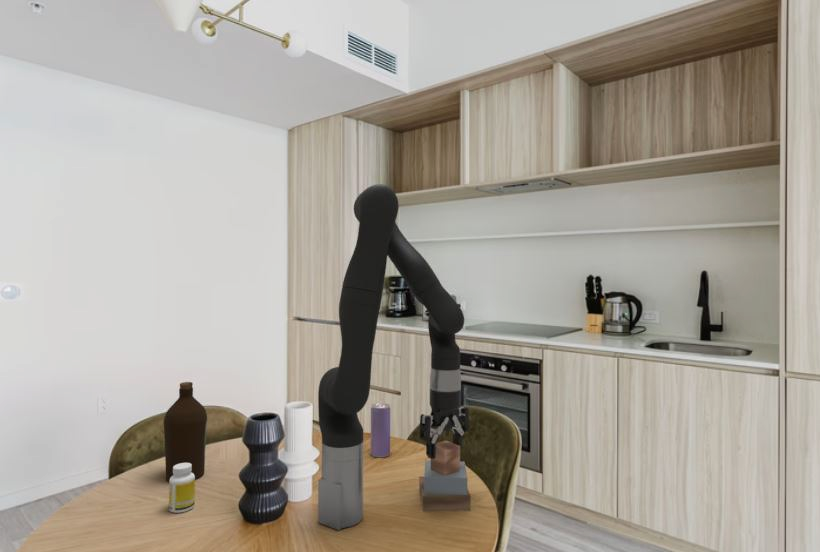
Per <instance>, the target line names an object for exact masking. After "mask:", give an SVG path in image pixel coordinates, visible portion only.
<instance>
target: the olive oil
mask: <svg viewBox="0 0 820 552" xmlns="http://www.w3.org/2000/svg"><path fill="white" fill-rule="evenodd" d="M193 385H194V384H193V382H191V381H183V382H180V383H179V388H178V389H179V390H178V393H179V395H178V399H176V401H174V403H173V404H172V405H170V406H169V408H168V409H167V410H166V412H165V414H164V418H163V435H164V437H163V439H164V457H165V462H164V463H165V479H166V481H167V482H169V480H170V478H171V476H173V475H174V474H173V466H175V465H177V464H180V463H191V464H192V471H191V472H192V473H193V474H194V475H195V481H196V480H198V479H200V478H202V476H204V475H205V464H206V463H205V461H206V446H207V445H206V444H207V431H208V430H207V429H208V427H207V426H208V413H207V410H206V409H205V406H204V405H203V404H201V403H200V402H199V401H198V400H197V399H196V398H195V397H194V387H193Z"/></svg>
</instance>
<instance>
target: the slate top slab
mask: <svg viewBox="0 0 820 552" xmlns="http://www.w3.org/2000/svg"><path fill="white" fill-rule="evenodd" d="M423 477H424V494H440V495H467V488H468V474H467V467H466V463H465V461H461V460H460V471H459V472H456V473H453V474H450V475H447V476H443V475H441V474H439V473H437V472H435V471H433V470H431V460H424V476H423Z"/></svg>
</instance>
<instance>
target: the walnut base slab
mask: <svg viewBox="0 0 820 552" xmlns="http://www.w3.org/2000/svg"><path fill="white" fill-rule="evenodd" d="M418 478H419V479H418V491H419V497H420V502H421V509H422V512H449V511H452V512H453V511H454V512H455V511H458V512H460V511H471V493H470V491H469V488H468V487H467V495H440V494H424V476H419V477H418Z"/></svg>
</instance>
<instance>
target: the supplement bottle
mask: <svg viewBox="0 0 820 552" xmlns="http://www.w3.org/2000/svg"><path fill="white" fill-rule="evenodd" d="M191 471H192V464H191V463H180V464H177V465H175V466H173V474H174V475H173V476H171V478H170V480H169V481H168V483H169V485H168V487H169V488H168V510H169V512H171V513H174V514H177V513H178V514H180V513H181V514H182V513H186V512H188V511H190V510H192V509H193V508H194V506H195V505H196V504H195V503H196V502H195V501H196V499H195V498H196V494H195V493H196V485H195V483H196V480H195V475H194V474H193V473H192V472H191Z"/></svg>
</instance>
